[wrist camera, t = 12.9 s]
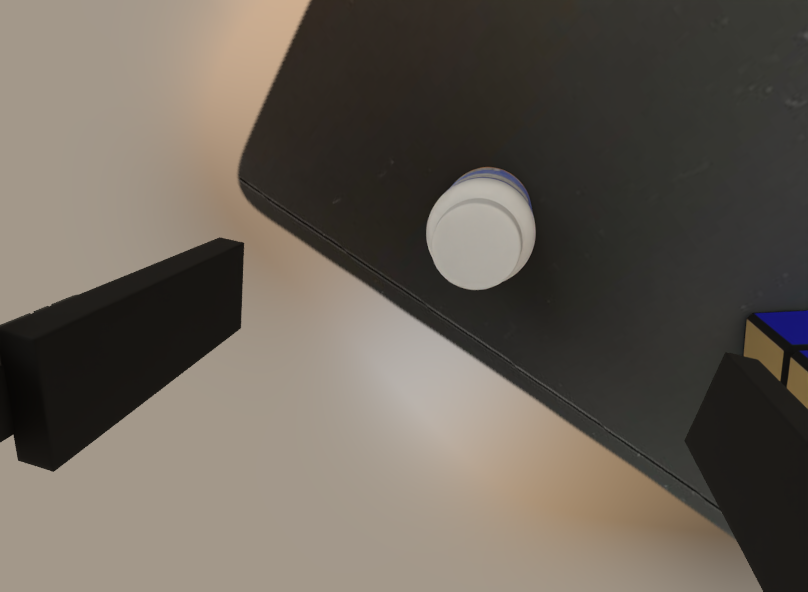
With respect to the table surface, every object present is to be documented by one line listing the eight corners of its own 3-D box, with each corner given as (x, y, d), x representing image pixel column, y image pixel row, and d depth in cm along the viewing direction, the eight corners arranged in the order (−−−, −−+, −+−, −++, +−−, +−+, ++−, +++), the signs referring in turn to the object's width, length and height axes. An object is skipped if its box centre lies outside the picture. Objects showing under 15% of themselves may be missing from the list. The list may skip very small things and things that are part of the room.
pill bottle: (503, 266, 31) (500, 327, 22) (429, 228, 31) (396, 273, 23) (548, 190, 29) (564, 224, 20) (468, 149, 29) (449, 165, 20)
